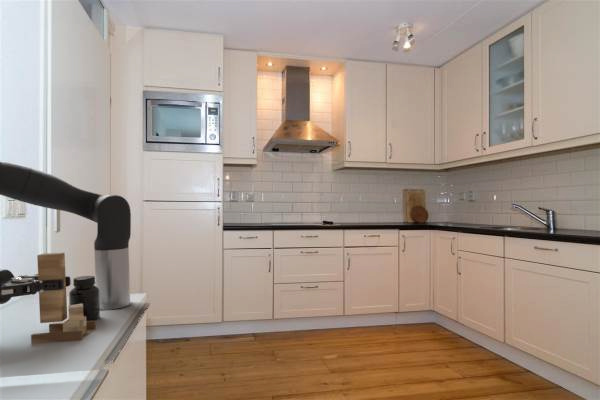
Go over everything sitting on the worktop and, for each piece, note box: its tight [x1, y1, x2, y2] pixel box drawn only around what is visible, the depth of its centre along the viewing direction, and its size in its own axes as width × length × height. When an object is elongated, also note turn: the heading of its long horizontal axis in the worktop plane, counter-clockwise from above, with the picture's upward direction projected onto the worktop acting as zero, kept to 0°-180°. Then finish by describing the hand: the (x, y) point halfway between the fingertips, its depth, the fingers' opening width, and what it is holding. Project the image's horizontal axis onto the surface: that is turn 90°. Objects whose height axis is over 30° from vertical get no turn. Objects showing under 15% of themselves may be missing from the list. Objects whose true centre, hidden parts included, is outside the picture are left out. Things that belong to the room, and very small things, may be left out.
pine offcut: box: [62, 317, 87, 334], centre depth 86 cm, size 4×3×4 cm
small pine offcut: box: [67, 303, 84, 322], centre depth 87 cm, size 3×3×3 cm
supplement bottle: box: [68, 275, 101, 321], centre depth 98 cm, size 7×7×12 cm
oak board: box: [36, 252, 68, 324], centre depth 86 cm, size 2×4×15 cm, turn 97°
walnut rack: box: [30, 320, 97, 345], centre depth 86 cm, size 8×10×3 cm
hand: (66, 282), depth 87 cm, fingers closed on oak board, 2 cm apart
